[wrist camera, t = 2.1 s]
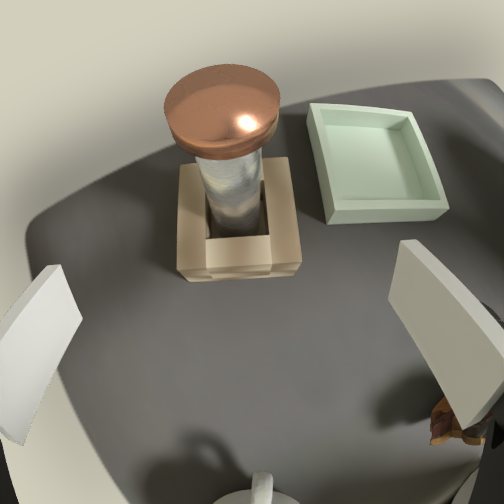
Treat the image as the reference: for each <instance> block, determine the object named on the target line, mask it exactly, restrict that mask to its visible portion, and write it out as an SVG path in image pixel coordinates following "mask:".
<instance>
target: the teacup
mask: <svg viewBox="0 0 504 504" xmlns="http://www.w3.org/2000/svg"><path fill="white" fill-rule="evenodd" d="M213 504H300V503H299V502H298V501H296V500H295V499H293V498H291V497H290V496H287V495H285V494H282V493H279V492H276V491H273V477H272V475H271V474H270V473H268V472H256V473H254V474H253V479H252V489H249V490H241V491H237V492H233V493H230V494H228V495H225V496H223V497H222V498H220V499H218V500H217V501H216V502H214V503H213Z"/></svg>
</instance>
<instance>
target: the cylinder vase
mask: <svg viewBox="0 0 504 504" xmlns="http://www.w3.org/2000/svg"><path fill="white" fill-rule="evenodd" d="M478 470H479V467H478V468H477V469H476V470H475V471H474V472H473V473H472V474H471V475H470V476H469V477H468V479H467V480H466V481H465V482H464V484H463V485H462V486H461V488H460V489H459V491H458V492H457V494H456V495H455V497H454V499H453V501H452V503H451V504H468V502H469V499H470V497H471V494H472V490H473V487H474V484H475V481H476V477H477V473H478Z"/></svg>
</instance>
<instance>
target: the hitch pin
mask: <svg viewBox="0 0 504 504" xmlns="http://www.w3.org/2000/svg"><path fill="white" fill-rule="evenodd" d="M279 106H280V93H279V89H278V87H277V85H276V84H275V82H274V81H273V80H272V79H271V78H270V77H269V76H267V75H266V74H265V73H263V72H261V71H259V70H257V69H254V68H251V67H248V66H243V65H235V64H222V65H214V66H209V67H205V68H202V69H199V70H197V71H194V72H192V73H190V74H188V75H187V76H185V77H184V78H182V79H181V80H179V81H178V82H177V83H176V84H175V85H174V86H173V87H172V88H171V90H170V91H169V93H168V94H167V97H166V99H165V103H164V113H165V116H166V119H167V121H168V124H169V127H170V130H171V133H172V135H173V138H174V140H175V142H176V143H177V144H178V145H179V147H180V148H182V149H183V150H184V151H186V152H187V153H189V154H191V155H193V156H195V158H196V162H197V165H198V168H199V172H200V175H201V178H202V182H203V185H204V188H205V191H206V195H207V198H208V201H209V204H210V207H211V211H212V214H213V217H214V220H215V223H216V226H217V230H218V233H219V235H220V237H221V238H232V237H247V236H256V235H257V233H258V230H259V212H260V183H261V154H262V146H264V145H265V144H266V143H267V142H268V141H269V140H270V139H271V138H272V136H273V135H274V133H275V131H276V129H277V125H278V117H279Z"/></svg>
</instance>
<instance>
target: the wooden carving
mask: <svg viewBox="0 0 504 504" xmlns="http://www.w3.org/2000/svg"><path fill="white" fill-rule="evenodd" d="M492 416H493V414H492V412H491V410H489V411H488V413H487V414H486V415H485V416H484V417H483V418H482V419H481V421H479V422H477V423H476V424H474V425H472V426H470V427H468V428H466V429H464V430H462V428H461V426H460V424H459V422H458V420H457V418H456V416H455V414H454V412H453V410H452V408H451V406H450V404H449V402H448V400H447V398H446V396H445V397H443V398H442V399H441V400H440V402H439V403H438V404H437V405H436V406H435V407H434V409H433V410H432V413H431V424H430V431H431V432H432V438H431V440H430V445H439V444H441V443H443V442H445V441H446V440H448V439H449V438H451V437H454V438H462V439H463V441H464V442H465V443H466V444H469V445H481V444H483V443H484V442H485V438H483V436H484V435H485V433H486V432H487V429H486V430H485V431H484V432H483V433H482V434H481V435H480V436H479V437H477V433H478V431H479V430H480V429H481V428H482V427H483V426H484V425H485V423H486V422H487V421H488V420H489V419H490V418H491V417H492Z"/></svg>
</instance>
